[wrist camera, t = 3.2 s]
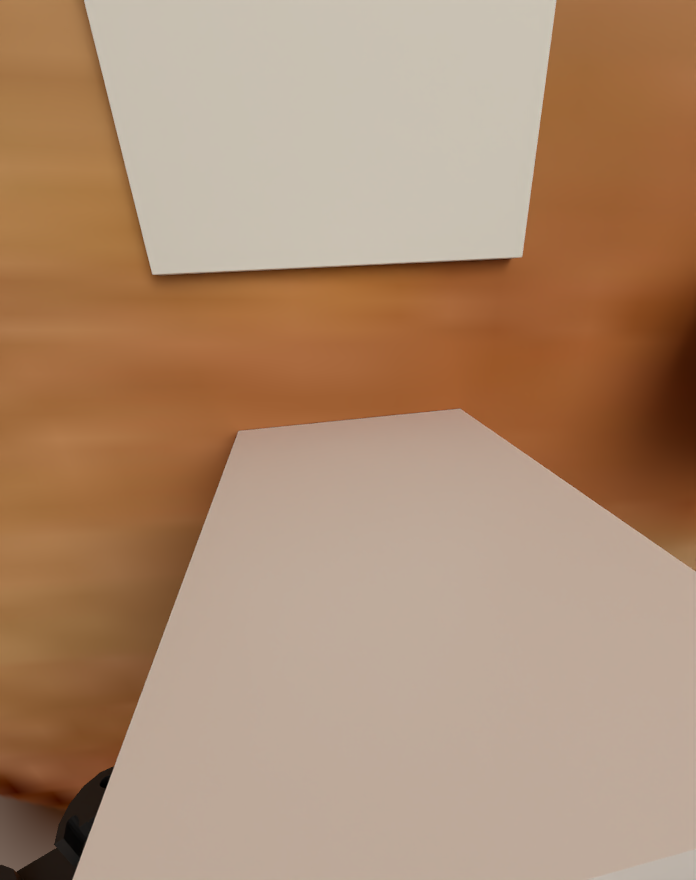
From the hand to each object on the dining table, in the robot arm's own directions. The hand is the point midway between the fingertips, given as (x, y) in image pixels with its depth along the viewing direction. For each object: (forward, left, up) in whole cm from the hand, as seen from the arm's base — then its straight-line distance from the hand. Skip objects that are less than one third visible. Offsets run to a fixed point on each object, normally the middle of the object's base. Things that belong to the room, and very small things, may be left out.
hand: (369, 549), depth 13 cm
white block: (0, 0, -2) cm, 2 cm away
